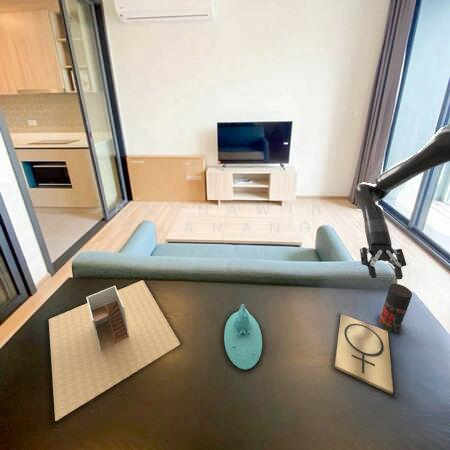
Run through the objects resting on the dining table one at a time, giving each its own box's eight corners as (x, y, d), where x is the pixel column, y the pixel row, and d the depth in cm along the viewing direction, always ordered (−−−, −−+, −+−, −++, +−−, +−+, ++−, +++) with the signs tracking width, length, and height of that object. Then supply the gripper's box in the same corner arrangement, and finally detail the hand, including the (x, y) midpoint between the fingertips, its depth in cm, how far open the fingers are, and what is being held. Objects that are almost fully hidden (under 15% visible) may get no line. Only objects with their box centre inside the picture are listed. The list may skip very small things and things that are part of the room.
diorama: (223, 369, 69) (223, 348, 66) (224, 311, 88) (224, 292, 85) (266, 369, 69) (268, 348, 66) (258, 311, 88) (259, 292, 85)
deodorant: (379, 314, 87) (389, 281, 81) (399, 322, 84) (411, 288, 79) (379, 327, 82) (389, 292, 77) (400, 335, 79) (413, 300, 74)
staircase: (100, 352, 74) (89, 310, 68) (93, 326, 82) (83, 287, 76) (129, 336, 79) (122, 296, 73) (120, 313, 87) (113, 275, 81)
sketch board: (387, 333, 80) (388, 330, 80) (392, 394, 64) (393, 392, 63) (340, 316, 86) (341, 313, 86) (334, 367, 70) (335, 365, 69)
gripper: (362, 229, 88) (371, 277, 82) (403, 231, 88) (415, 279, 81) (353, 234, 95) (360, 278, 89) (390, 235, 95) (401, 280, 88)
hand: (386, 278), depth 85 cm, fingers open, 8 cm apart
